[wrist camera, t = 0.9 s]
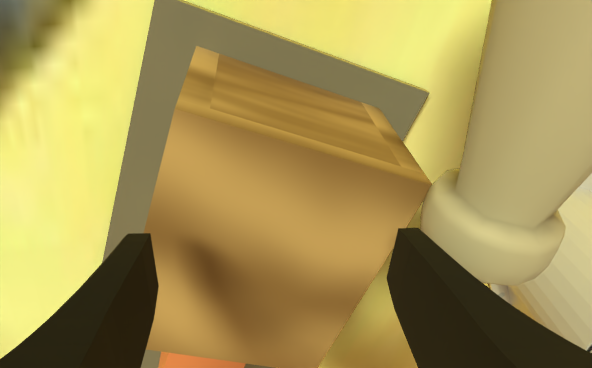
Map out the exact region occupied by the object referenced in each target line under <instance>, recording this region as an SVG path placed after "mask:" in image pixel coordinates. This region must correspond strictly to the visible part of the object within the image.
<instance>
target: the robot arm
mask: <svg viewBox="0 0 592 368" xmlns="http://www.w3.org/2000/svg"><path fill="white" fill-rule="evenodd" d="M558 211H559V213H560V216H561V218H562V220H563V222H564V224H565V226H566V229H565V235H564V238H563V240H562V242H561V244H560V247H559V249H558V251H557V253H556V254H555V256H554V258H553V259H552V261H551V263H550V264H549V266H548V267H547V268H546V269H545V270H544V271H543V272H542V273H540V274H539V275H538V276H537V277H536V278H535V279H532V280H530V281H527V282H524V283H522V284H519V285H516V286H508V285H497V284H489V286H490V289H489V288H488V287H487V286H485V285H484V284H483V283H482V282H480V281H479V280H478V279H477V278H475V277H474V276H473V275H472V274H471V273H469V272H468V271H467V270H466V269H465V268H463V267H462V266H461V265H460V264H459V263H458V262H456V261H455V260H454V259H453V258H452V257H451V256H450V255H448V254H447V253H446V252H445V251H444V250H443V249H442V248H441V247H439V246H438V245H437V244H436V243H435V242H434V241H433V240H432V239H430V238H429V237H428V236H427V235H426V234H425V233H424V232H422V231H421V230H420V229H419V228H398V232H397V236H396V241H395V245H394V249H393V253H392V258H391V262H390V266H389V270H388V275H387V282H388V286H389V290H390V294H391V298H392V301H393V305H394V309H395V311H396V314H397V316H398V319H399V321H400V324H401V326H402V329H403V331H404V334H405V336H406V339H407V341H408V344H409V346H410V349H411V351H412V354H413V356H414V358H415V361H416V363H417V366H418V368H592V173H591V174H590V175H589V176H588V177H587V179H586V180H585V181H584V182H583V183H582V184H581V185H580V186H579V187H578V188H577V189H576V190H575V191H574V192H573V194H572V195H571V196H570V197H569V198H568V199H567V200H566V201H565V202H564V203H563V204H562V205H561V206H560V207H559V209H558ZM158 288H159V284H158V278H157V272H156V265H155V259H154V253H153V246H152V240H151V234H150V233H132V234H127V235H126V236H125V237H124V238H123V239H122V240H121V241H120V243H119V244H118V245H117V246H116V247H115V249H114V250H113V251H112V252H111V253H110V255H109V256H108V257H107V258H106V259H105V260H104V262H103V263H102V264H101V265H100V266H99V267H98V269H97V270H96V271H95V272H94V273H93V274H92V275H91V276H90V277H89V278H88V280H87V281H86V282H85V283H84V284H83V285H82V286H81V287H80V288H79V289H78V290H77V291H76V292H75V293H74V294H73V295H72V296H71V297H70V298H69V299H68V300H67V301H66V302H65V303H64V304H63V305H62V306H61V307H60V308H59V309H58V310H57V311H56V312H55V313H54V314H53V315H52V316H51V317H50V318H49V319H48V320H47V321H46V322H45V323H44V324H42V325H41V326H40V327H39V328H38V329H37V330H36V331H35V332H33V333H32V334H31V335H30V336H29V337H28V338H26V339H25V340H24V341H23V342H22V343H21V344H19V345H18V346H17V347H16V348H14V349H13V350H12V351H10V352H9V353H8V354H7V355H5V356H4V357H3V358H1V359H0V368H141V365H142V361H143V357H144V354H145V350H146V347H147V343H148V339H149V336H150V332H151V328H152V324H153V321H154V315H155V309H156V302H157V295H158ZM512 305H513V306H512Z"/></svg>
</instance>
